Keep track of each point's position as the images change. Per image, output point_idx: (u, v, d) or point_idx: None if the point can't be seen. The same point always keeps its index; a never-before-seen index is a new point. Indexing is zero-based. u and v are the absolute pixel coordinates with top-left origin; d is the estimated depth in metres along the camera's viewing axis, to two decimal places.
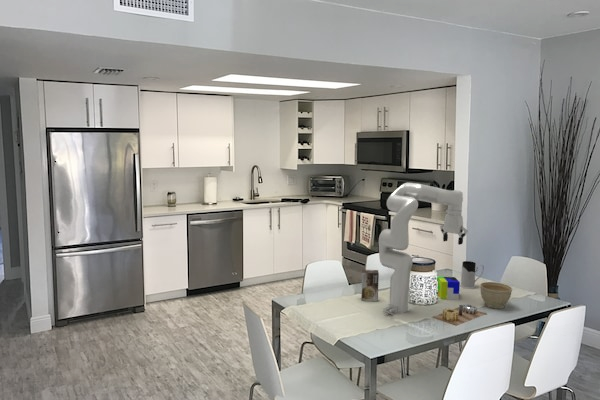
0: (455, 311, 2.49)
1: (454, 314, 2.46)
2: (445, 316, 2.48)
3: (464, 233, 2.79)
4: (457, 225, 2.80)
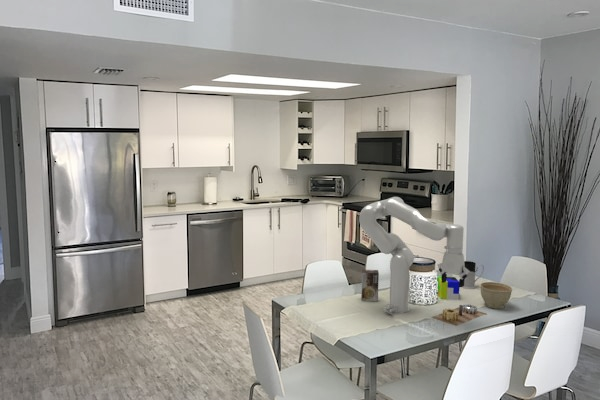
0: (455, 311, 2.49)
1: (454, 314, 2.46)
2: (445, 316, 2.48)
3: (466, 274, 2.42)
4: (458, 265, 2.42)
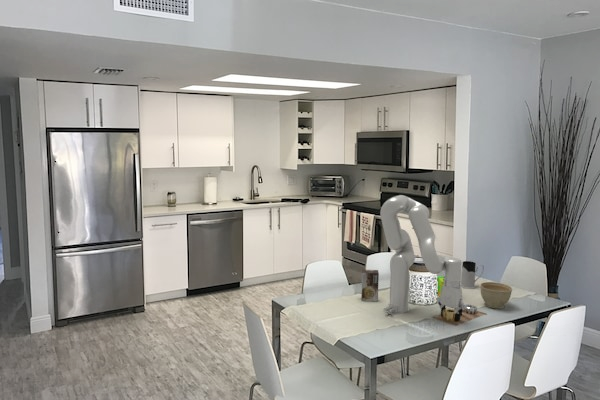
0: (455, 311, 2.49)
1: (454, 314, 2.46)
2: (445, 316, 2.48)
3: (462, 309, 2.44)
4: (455, 299, 2.43)
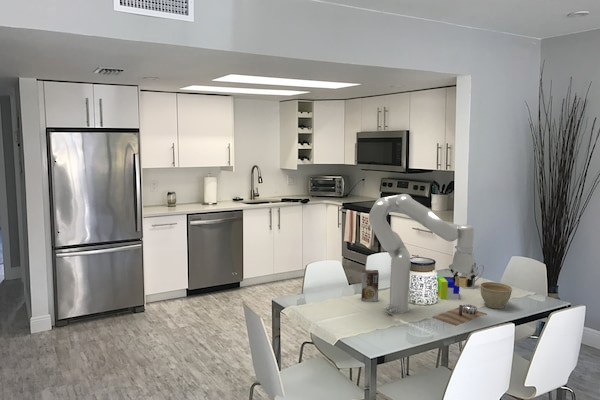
0: (467, 277, 2.52)
1: (467, 280, 2.50)
2: (458, 282, 2.51)
3: (474, 274, 2.47)
4: (468, 265, 2.47)
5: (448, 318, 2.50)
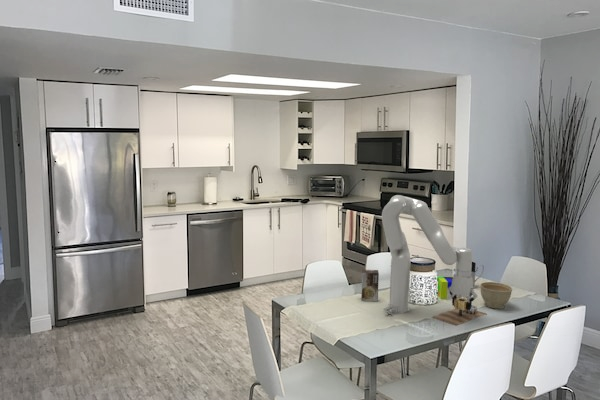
0: (466, 300, 2.54)
1: (465, 303, 2.51)
2: (457, 305, 2.53)
3: (473, 298, 2.49)
4: (466, 288, 2.49)
5: (448, 318, 2.50)
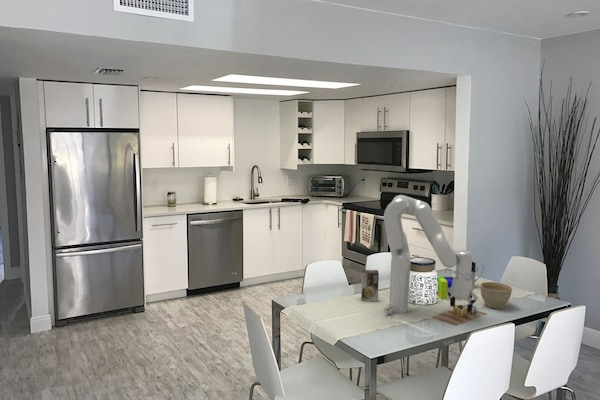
0: (465, 307, 2.55)
1: (464, 310, 2.52)
2: (455, 312, 2.54)
3: (474, 300, 2.48)
4: (466, 290, 2.49)
5: (448, 318, 2.50)
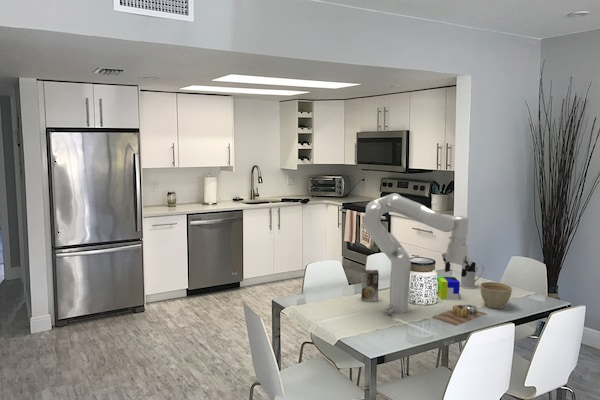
0: (465, 307, 2.55)
1: (464, 310, 2.52)
2: (455, 312, 2.54)
3: (468, 264, 2.49)
4: (461, 255, 2.50)
5: (448, 318, 2.50)
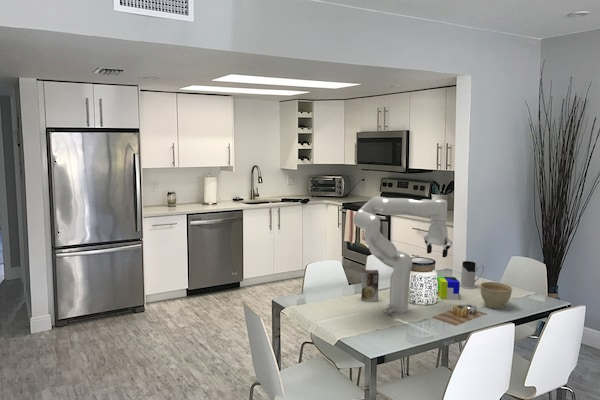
0: (465, 307, 2.55)
1: (464, 310, 2.52)
2: (455, 312, 2.54)
3: (449, 245, 2.61)
4: (441, 236, 2.61)
5: (448, 318, 2.50)
